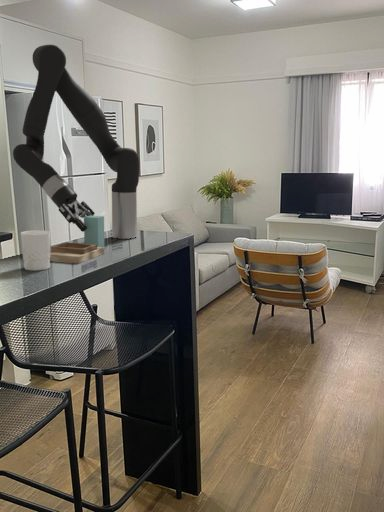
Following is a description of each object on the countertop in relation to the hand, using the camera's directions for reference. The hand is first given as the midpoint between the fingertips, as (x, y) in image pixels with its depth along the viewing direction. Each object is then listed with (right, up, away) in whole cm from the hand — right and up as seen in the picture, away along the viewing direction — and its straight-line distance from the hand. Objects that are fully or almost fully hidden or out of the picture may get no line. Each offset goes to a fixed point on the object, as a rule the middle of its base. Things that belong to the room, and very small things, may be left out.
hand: (91, 228), depth 167 cm
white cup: (-10, -13, -26) cm, 31 cm away
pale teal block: (+1, -7, +1) cm, 7 cm away
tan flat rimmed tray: (-3, -9, -11) cm, 15 cm away
